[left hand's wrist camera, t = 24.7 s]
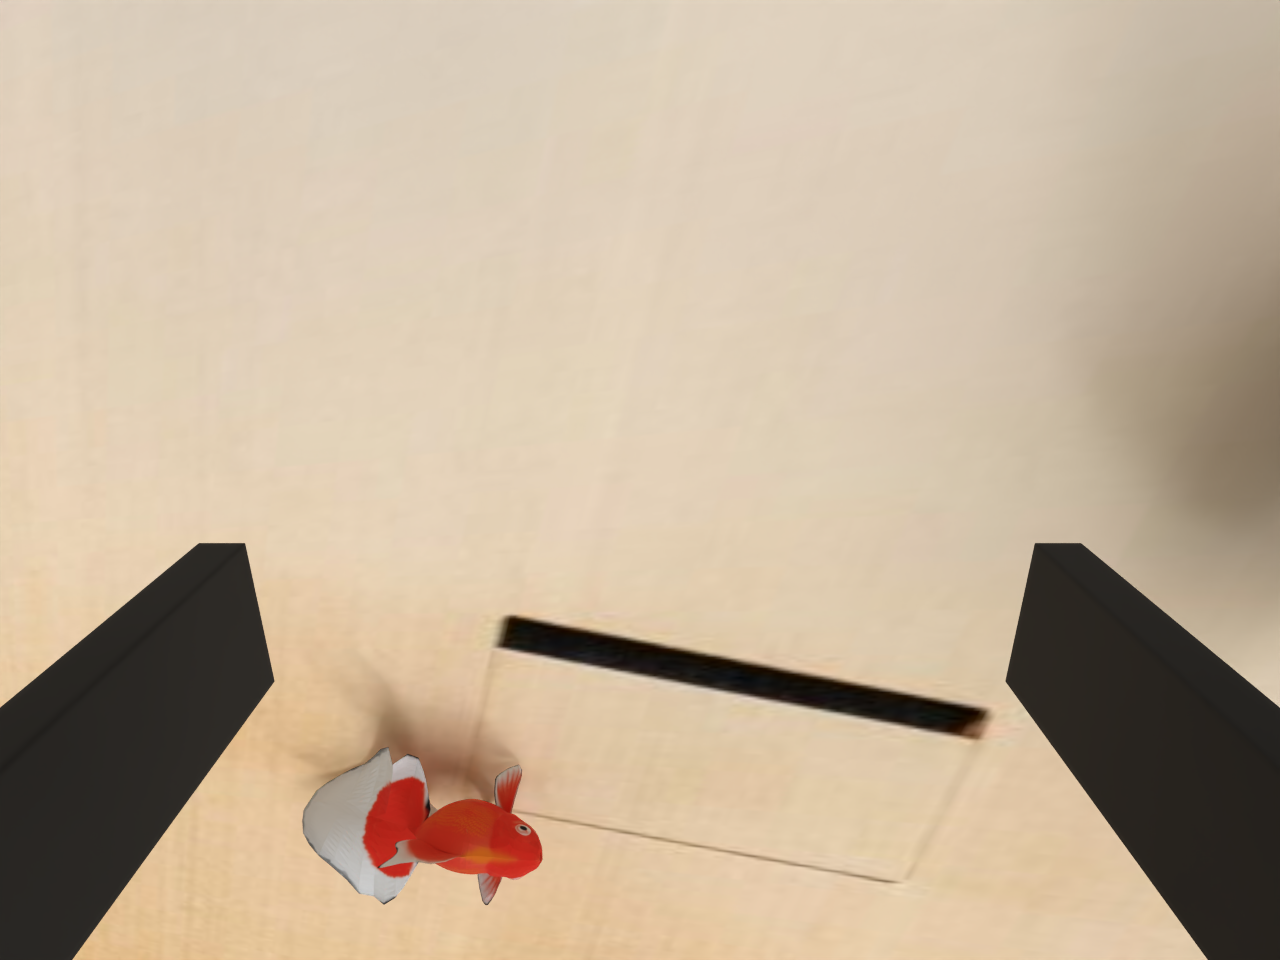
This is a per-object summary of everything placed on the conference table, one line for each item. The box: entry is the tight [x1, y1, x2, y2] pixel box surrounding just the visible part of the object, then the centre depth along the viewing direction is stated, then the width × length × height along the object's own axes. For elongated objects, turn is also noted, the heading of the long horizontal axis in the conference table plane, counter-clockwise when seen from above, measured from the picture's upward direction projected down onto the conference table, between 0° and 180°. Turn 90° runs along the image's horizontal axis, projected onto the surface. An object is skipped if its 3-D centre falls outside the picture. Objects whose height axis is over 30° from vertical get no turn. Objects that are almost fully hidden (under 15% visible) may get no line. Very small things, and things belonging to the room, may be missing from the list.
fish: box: [302, 747, 542, 905], centre depth 48 cm, size 11×16×10 cm
